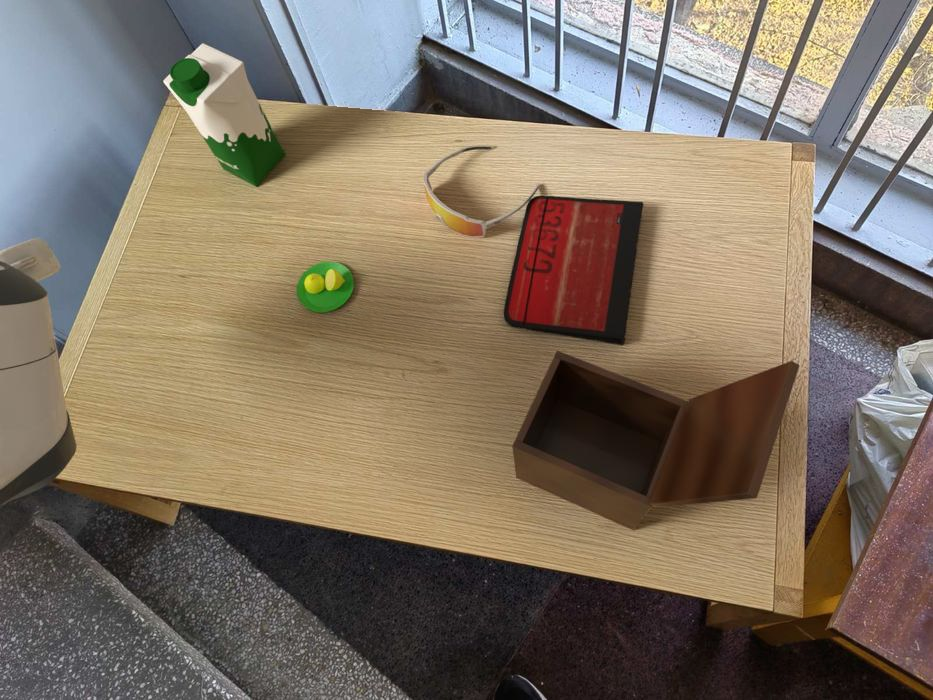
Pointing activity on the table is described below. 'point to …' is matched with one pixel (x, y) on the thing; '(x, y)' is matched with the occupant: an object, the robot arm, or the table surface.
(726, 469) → the chest lid
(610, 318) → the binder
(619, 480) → the chest
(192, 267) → the table surface
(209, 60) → the soya milk
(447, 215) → the sunglasses
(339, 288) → the plate with lemons
